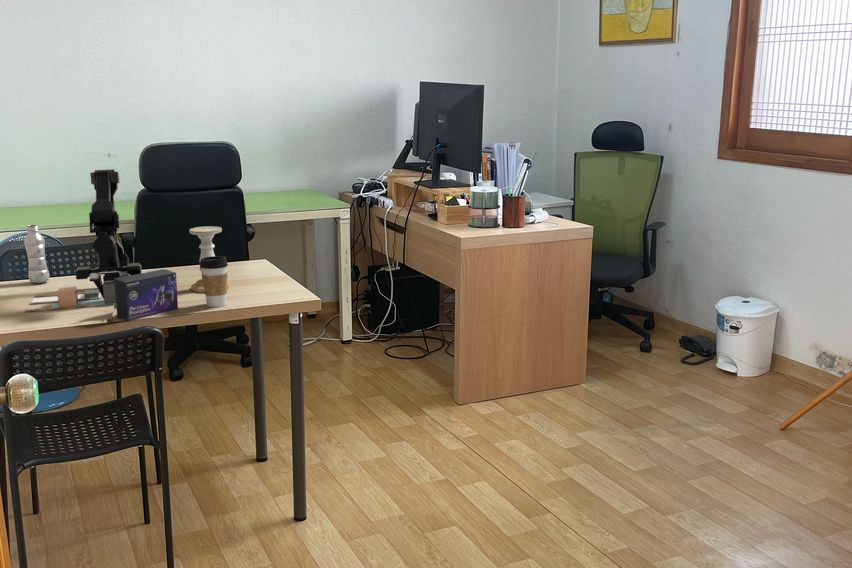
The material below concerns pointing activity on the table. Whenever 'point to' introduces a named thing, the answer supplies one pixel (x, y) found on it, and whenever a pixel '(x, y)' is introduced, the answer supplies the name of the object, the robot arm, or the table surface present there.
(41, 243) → the plastic bottle
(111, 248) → the robot arm
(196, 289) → the candle holder
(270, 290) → the table surface
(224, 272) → the coffee cup
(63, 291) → the cube
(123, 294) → the box
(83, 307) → the lane rails
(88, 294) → the strip
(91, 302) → the strip
